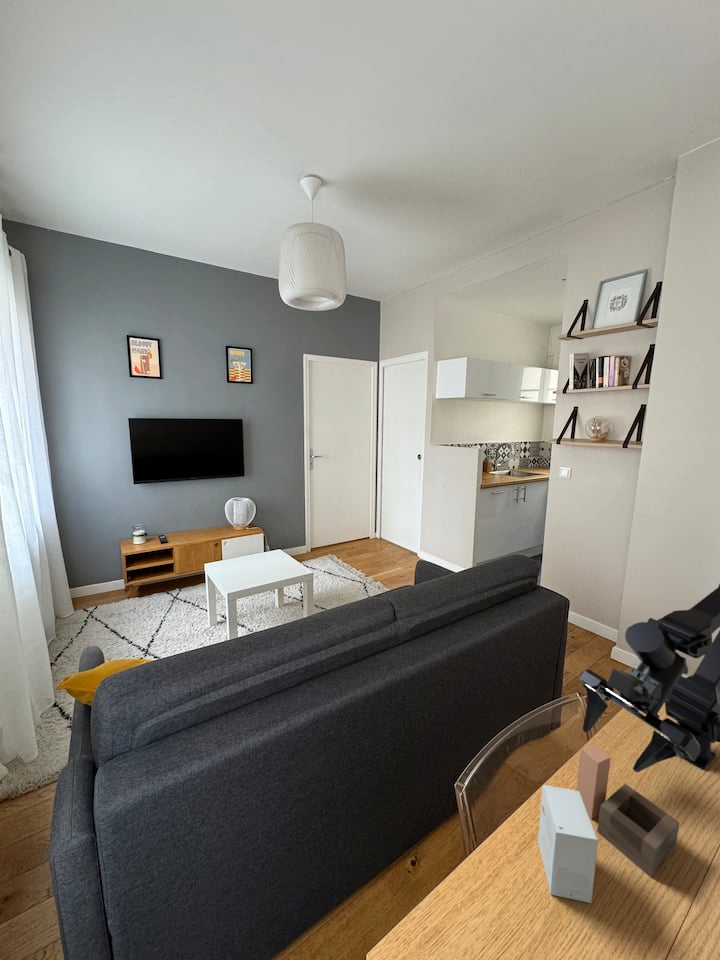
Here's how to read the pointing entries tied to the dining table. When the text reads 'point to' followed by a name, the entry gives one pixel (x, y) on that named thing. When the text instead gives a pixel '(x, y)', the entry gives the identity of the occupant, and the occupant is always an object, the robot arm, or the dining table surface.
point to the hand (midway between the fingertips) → (608, 750)
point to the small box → (567, 844)
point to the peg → (593, 778)
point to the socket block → (638, 829)
